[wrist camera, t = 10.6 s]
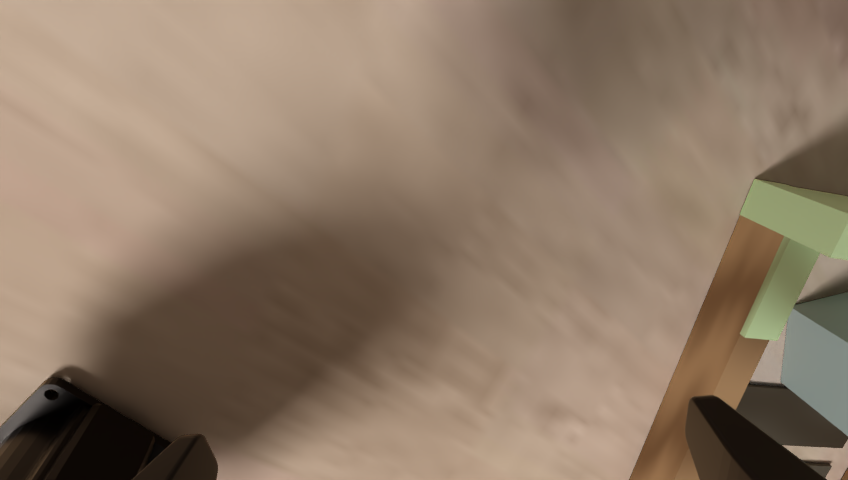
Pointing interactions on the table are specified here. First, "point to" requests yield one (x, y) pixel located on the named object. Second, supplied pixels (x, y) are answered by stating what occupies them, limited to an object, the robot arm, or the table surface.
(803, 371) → the blue-grey block
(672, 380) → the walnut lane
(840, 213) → the green end wall
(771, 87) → the table surface
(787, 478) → the robot arm
